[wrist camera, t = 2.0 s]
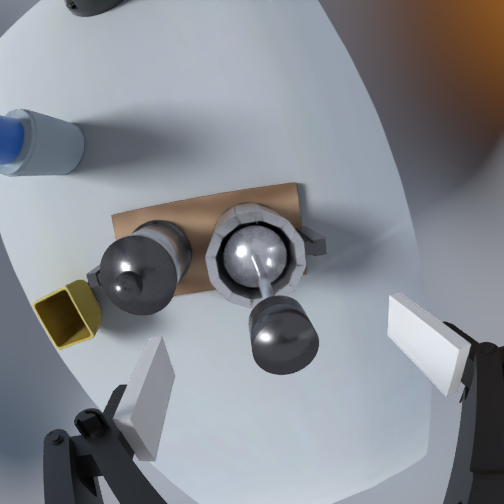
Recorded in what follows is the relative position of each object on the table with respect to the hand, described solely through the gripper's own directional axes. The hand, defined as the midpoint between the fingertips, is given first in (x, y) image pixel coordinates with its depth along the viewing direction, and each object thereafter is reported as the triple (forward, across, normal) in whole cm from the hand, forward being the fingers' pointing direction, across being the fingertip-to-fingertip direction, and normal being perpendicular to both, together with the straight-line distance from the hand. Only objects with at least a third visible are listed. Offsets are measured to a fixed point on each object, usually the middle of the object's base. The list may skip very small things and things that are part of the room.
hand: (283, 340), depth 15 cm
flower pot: (+30, -30, -6) cm, 43 cm away
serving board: (+30, -6, 0) cm, 30 cm away
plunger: (+18, 0, 0) cm, 18 cm away
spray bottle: (+30, -28, +20) cm, 46 cm away
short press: (+28, -15, +1) cm, 32 cm away
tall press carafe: (+28, +1, +1) cm, 28 cm away
